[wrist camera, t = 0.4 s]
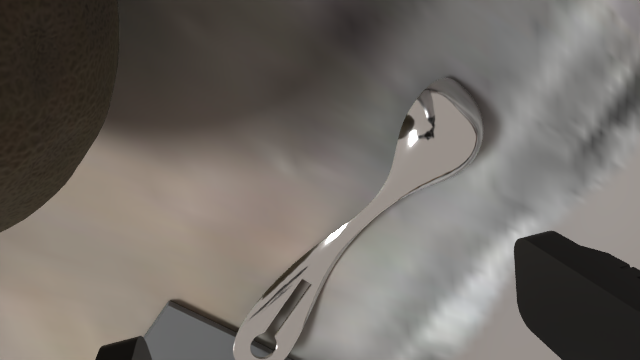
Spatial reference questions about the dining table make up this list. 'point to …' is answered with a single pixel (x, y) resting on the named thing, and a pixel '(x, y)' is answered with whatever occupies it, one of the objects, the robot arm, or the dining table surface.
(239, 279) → the dining table surface
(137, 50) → the dining table surface
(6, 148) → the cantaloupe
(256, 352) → the mat
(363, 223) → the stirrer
